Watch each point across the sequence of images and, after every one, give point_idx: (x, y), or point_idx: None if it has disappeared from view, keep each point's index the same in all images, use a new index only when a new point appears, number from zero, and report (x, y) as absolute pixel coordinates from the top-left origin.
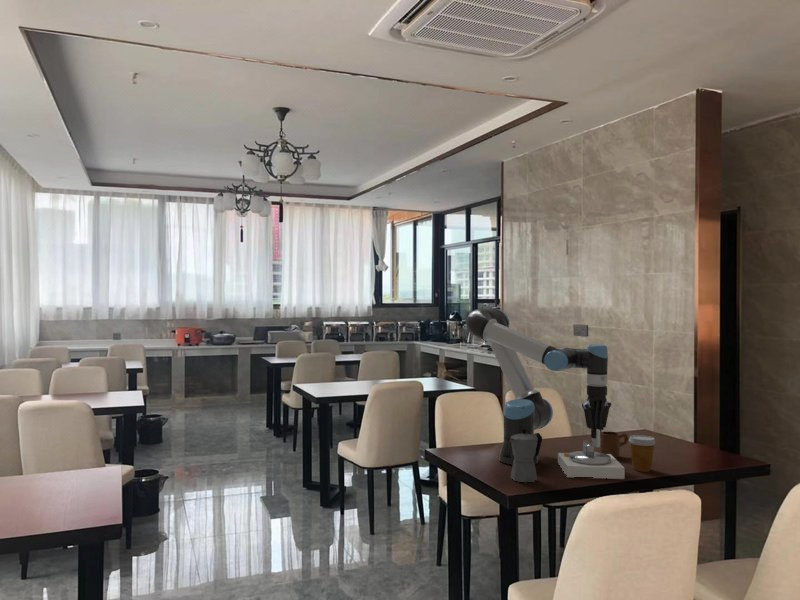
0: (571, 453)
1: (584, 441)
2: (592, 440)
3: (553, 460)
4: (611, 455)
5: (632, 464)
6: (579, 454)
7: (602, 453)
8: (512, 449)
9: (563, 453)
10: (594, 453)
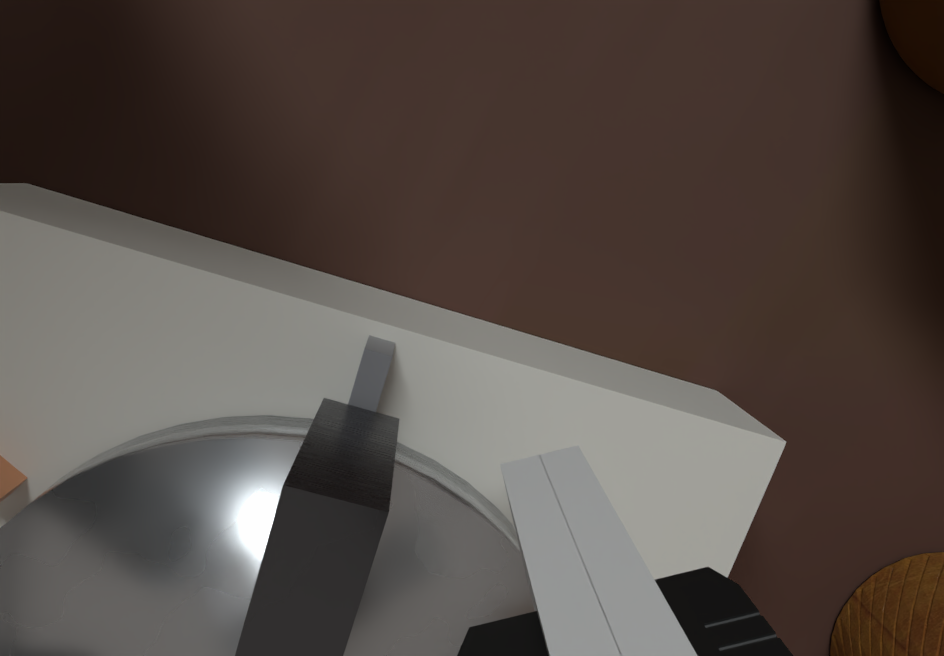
0: (4, 571)
1: (244, 631)
2: (518, 531)
3: (12, 16)
4: (747, 516)
5: (871, 635)
6: (125, 648)
7: None
8: None
9: (1, 264)
10: (420, 621)
